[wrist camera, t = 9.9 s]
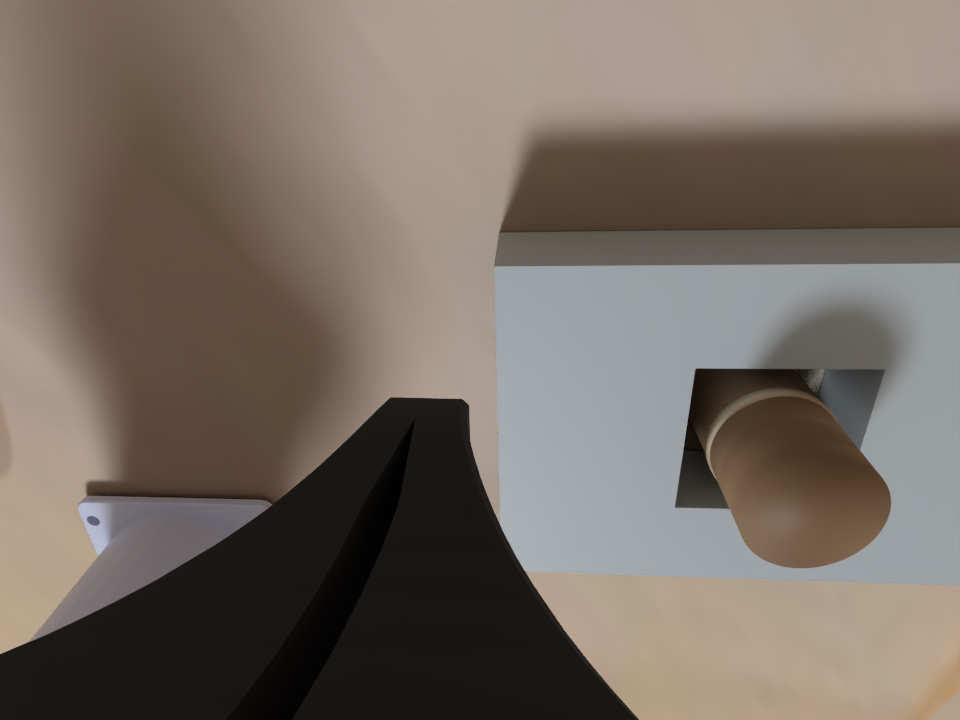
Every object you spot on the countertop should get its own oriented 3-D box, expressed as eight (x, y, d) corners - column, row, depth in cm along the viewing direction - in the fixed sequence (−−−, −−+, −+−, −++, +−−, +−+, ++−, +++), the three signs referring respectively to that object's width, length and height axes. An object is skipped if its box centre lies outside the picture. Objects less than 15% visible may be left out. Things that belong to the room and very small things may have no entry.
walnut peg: (812, 348, 20) (916, 461, 15) (781, 442, 22) (863, 575, 17) (695, 339, 20) (758, 449, 15) (673, 435, 22) (722, 564, 17)
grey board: (942, 521, 23) (996, 586, 20) (504, 511, 24) (501, 570, 22) (1066, 226, 18) (1159, 261, 15) (499, 232, 19) (494, 266, 16)
